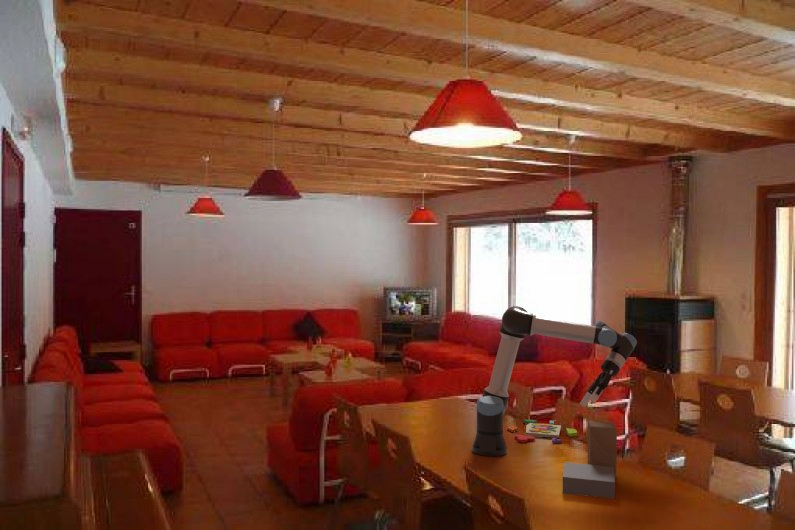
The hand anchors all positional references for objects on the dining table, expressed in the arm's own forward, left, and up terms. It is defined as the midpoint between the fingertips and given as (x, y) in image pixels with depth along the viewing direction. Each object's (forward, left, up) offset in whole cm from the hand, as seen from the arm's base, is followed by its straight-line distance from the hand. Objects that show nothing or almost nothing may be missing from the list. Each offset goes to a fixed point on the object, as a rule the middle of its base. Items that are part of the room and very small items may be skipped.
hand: (587, 403), depth 274 cm
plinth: (+1, -36, -24) cm, 43 cm away
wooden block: (+6, -18, -24) cm, 31 cm away
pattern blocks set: (-21, +38, -25) cm, 50 cm away
